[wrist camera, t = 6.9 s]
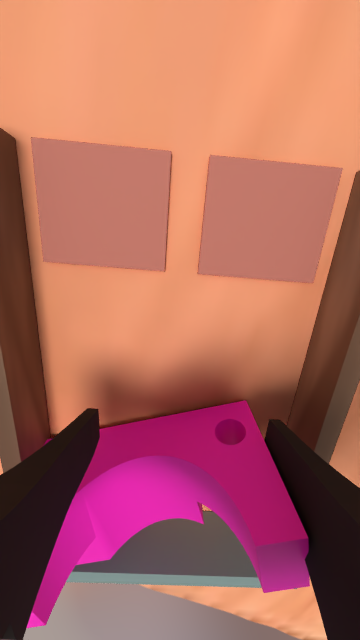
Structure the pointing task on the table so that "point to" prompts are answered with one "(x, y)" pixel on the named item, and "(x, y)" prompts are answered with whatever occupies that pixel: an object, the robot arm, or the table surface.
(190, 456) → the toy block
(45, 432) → the lane rails
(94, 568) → the end stop
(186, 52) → the table surface
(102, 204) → the trap squares
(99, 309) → the table surface
